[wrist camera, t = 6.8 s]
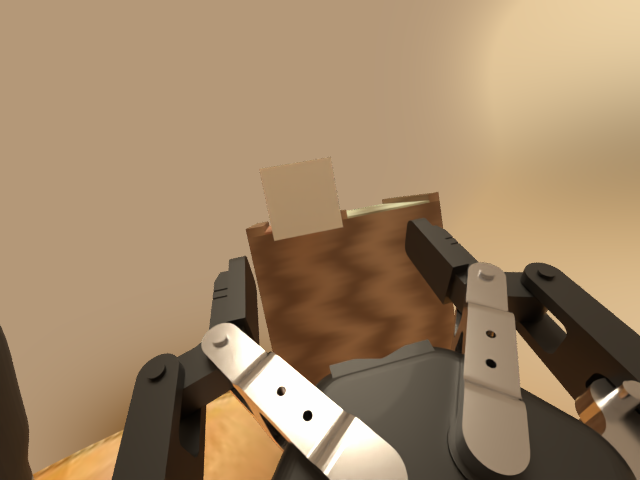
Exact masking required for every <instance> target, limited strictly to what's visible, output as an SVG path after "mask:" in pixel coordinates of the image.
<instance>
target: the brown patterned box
mask: <svg viewBox="0 0 640 480" xmlns="http://www.w3.org/2000/svg"><path fill="white" fill-rule="evenodd" d="M382 202H383V204H380V205H376V206H370V207H365V208H360V209H354V210H349V211H346V210H340V212H341V218H342V224H343V227H341V228H336V229H331V230H326V231H321V232H316V233H311V234H306V235H301V236H296V237H291V238H286V239H281V240H276V241H274V237H273V232H272V228H271V226H269V222H263V223H257V224H255V225H253V226H251V227H249V228H247V229H246V232H247V237H248V242H249V246H250V250H251V255H252V260H253V264H254V268H255V273H256V277H257V282H258V287H259V292H260V296H261V300H262V304H263V310H264V314H265V319H266V323H267V328H268V332H269V337H270V341H271V345H272V350H273V353H275V354H276V355H278V356H279V357H280V358H281V359H283V360H284V361H285V362H286V363H287V364H288V365H290V366H291V367H292V368H293V369H294V370H296V371H297V372H298V373H299V374H300V375H302V376H303V377H304V378H305V379H306V380H308V381H309V382H310V383H311V384H312V385H313V386H315V385H316V384H317V383H318V382H319V381H320V380H321V379H323V378H324V377H325V376H327V375H328V374H330V366H329V365H333V364H337V363H341V362H344V361H348V360H352V359H381V358H384V357H386V356H388V355H389V354H391V353H393V352H394V351H396V350H398V349H400V348H401V347H403V346H405V345H408V344H412V343H416V342H420V341H423V340H427V339H428V340H429V341H430V343H431V345H432V346H433V347H442V348H446V349H450V350H451V345H452V337H453V328H454V319H455V315H454V307H453V302H452V303H448V304H444V305H443V304H442V303H441V301H440V300H439V298H438V297H437V296H436V294H435V293H434V292H433V290H432V289H431V287H430V286H429V285H428V283H427V282H426V281H425V279H424V278H423V277H422V275H421V274H420V272H419V271H418V270H417V268H416V267H415V266H414V264H413V263H412V261H411V260H410V259H409V257H408V256H407V254H406V251H405V239H406V230H407V223H408V221H410V220H415V219H419V218H426V219H427V220H428V221H429V222H430V223H431V224H432V225H433V226H435V225H437V226H439V227H441V228H443V224H442V216H441V209H440V201H439V194H438V192H435V193H427V194H419V195H411V196H403V197H396V198H388V199H383V200H382Z"/></svg>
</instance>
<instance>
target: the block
mask: <svg viewBox="0 0 640 480" xmlns="http://www.w3.org/2000/svg"><path fill="white" fill-rule="evenodd" d="M259 170H260V175H261V180H262V185H263V189H264V194H265V199H266V204H267V209H268V213H269V218H270V223H271V228H272V232H273V237H274V241H276V240H281V239H286V238H291V237H296V236H301V235H306V234H311V233H316V232H321V231H326V230H331V229H336V228H341V227H343V224H342V218H341V212H340V207H339V201H338V196H337V190H336V184H335V178H334V173H333V167H332V162H331V157H327V158H321V159H315V160H309V161H303V162H297V163H292V164H285V165H280V166H274V167H268V168H262V169H259Z"/></svg>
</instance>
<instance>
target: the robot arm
mask: <svg viewBox="0 0 640 480" xmlns="http://www.w3.org/2000/svg"><path fill="white" fill-rule="evenodd" d="M405 251H406V254H407V256H408V257H409V259H410V260H411V261H412V263H413V264H414V266H415V267H416V268H417V270H418V271H419V272H420V274H421V275H422V277H423V278H424V279H425V281H426V282H427V283H428V285H429V286H430V287H431V289H432V290H433V292H434V293H435V294H436V296H437V297H438V298H439V300H440V301H441V303H442V304H443V305H444V304H448V303H452V302H453V304H454V305H455V306H456V310H455V319H454V328H453V337H452V345H451V350H450V349H446V348H442V347H433V346H432V345H431V343H430V341H429V340H428V339H427V340H423V341H420V342H416V343H412V344H408V345H405V346H403V347H401V348H400V349H398V350H396V351H394V352H393V353H391V354H389V355H388V356H386V357H384V358H381V359H352V360H348V361H344V362H341V363H337V364H333V365H329V366H330V374H328V375H327V376H325V377H324V378H323V379H321V380H320V381H319V382H318V383H317V384H316V385H315V386H313V385H312V384H311V383H310V382H309V381H308V380H306V379H305V378H304V377H303V376H302V375H300V374H299V373H298V372H297V371H296V370H294V369H293V368H292V367H291V366H290V365H288V364H287V363H286V362H285V361H284V360H283V359H281V358H280V357H279V356H278V355H276V354H275V353H273V352H269V353H267V352H266V351H264V350H263V349H262V348H261V347H260V346H259V327H258V308H257V290H256V284H255V280H254V277H253V274H252V271H251V268H250V265H249V262H248V260H247V257H246V256H243V257H238V258H234V259H230V260H229V271H226V272H221V273H220V274H219V275H218V277H217V279H216V280H215V283H214V293H213V301H212V309H211V319H210V327H209V331H208V332H207V333H206V334H205V335H204V337H203V339H202V342H201V343H200V344H199V345H198V346H196V347H195V348H193V349H192V350H190V351H188V352H186V353H184V354H182V355H180V356H179V357H176V356H175V355H173V354H161V355H158V356H156V357H154V358H153V359H151V360H150V361H148V362H147V363H146V364H145V365H144V366H143V367H142V369H141V370H140V372H139V374H138V376H137V379H136V382H135V386H134V390H133V395H132V399H131V403H130V407H129V411H128V415H127V419H126V423H125V428H124V431H123V435H122V440H121V444H120V448H119V452H118V456H117V460H116V464H115V468H114V472H113V476H112V480H203V476H204V450H205V424H206V405H207V404H208V403H210V402H211V401H213V400H215V399H216V398H218V397H219V396H221V395H223V394H224V393H226V392H227V391H230V392H231V393H232V394H233V395H234V396H235V398H236V399H237V400H238V401H239V402H240V403H241V404H242V405H243V406H244V407H245V408H246V410H247V411H248V412H249V413H250V414H251V415H252V416H253V417H254V418H255V420H256V421H257V422H258V423H259V425H260V426H261V427H262V429H263V430H264V431H265V432H266V433H267V435H268V436H269V437H270V438H271V439H272V440H273V441H274V442H275V444H276V445H277V446H278V447H279V448H280V449H281V450H282V451H283V454H282V456H281V459H280V461H279V463H278V466H277V468H276V470H275V472H274V475H273V477H272V479H271V480H640V336H639V335H638V334H637V333H636V332H635V331H633V330H632V329H631V328H630V327H628V326H627V325H626V324H625V323H624V322H622V321H621V320H620V319H619V318H617V317H616V316H615V315H614V314H613V313H611V312H610V311H609V310H608V309H607V308H605V307H604V306H603V305H602V304H600V303H599V302H598V301H597V300H596V299H594V298H593V297H592V296H591V295H589V294H588V293H587V292H586V291H584V290H583V289H582V288H581V287H580V286H578V285H577V284H576V283H575V282H574V281H572V280H571V279H570V278H569V277H567V276H566V275H565V274H564V273H563V272H561V271H560V270H559V269H557V268H555V267H553V266H551V265H548V264H544V263H531V264H529V265H527V266H526V267H525V269H524V271H523V272H503V271H502V270H501V269H500V268H498V267H497V266H495V265H492V264H489V263H484V262H478V261H477V260H476V259H475V258H474V257H473V256H472V255H471V254H469V252H468V251H467V250H466V249H464V247H463V246H461V245H460V244H458V242H457V241H456V240H455V239H454V238H453V237H452V236H451V235H450V234H449V233H448V232H447V231H446V230H445V229H443V228H441V227H439V226H437V225H435V226H433V225H432V224H431V223H430V222H429V221H428V220H427V219H426V218H419V219H415V220H410V221H408V223H407V230H406V239H405ZM548 310H549V311H550V312H551V313H552V314H553V315H554V316H555V317H556V318H557V319H558V320H559V321H560V322H561V323H562V324H563V325H564V327H565V329H566V331H567V334H566V333H565V332H564V331H563V330H562V329H561V328H560V327H559V326H558V325H557V324H556V323H555V322H554V321H553V320H552V319H551V318H550V317H549V316H548V315H547V314H546V312H547V311H548ZM516 330H517V331H518V333H519V334H520V335H521V336H522V337H523V339H524V340H525V341H526V342H527V343H528V345H529V346H530V347H531V348H532V349H533V351H534V352H535V353H536V354H537V355H538V357H539V358H540V359H541V360H542V361H543V363H544V364H545V365H546V366H547V367H548V369H549V370H550V371H551V372H552V373H553V375H554V376H555V377H556V378H557V379H558V381H559V382H560V383H561V384H562V385H563V387H564V388H565V389H566V390H567V391H568V393H569V394H570V395H571V396H572V397H573V399H574V400H575V407H576V411H577V413H578V415H579V417H580V419H579V420H578V419H576V418H574V417H572V416H571V415H568V414H567V413H565V412H563V411H561V410H560V409H558V408H556V407H555V406H553V405H551V404H549V403H548V402H545V401H544V400H542V399H540V398H539V397H537V396H535V395H533V394H531V393H530V392H528V391H526V390H524V389H523V388H521V387H520V379H519V366H518V353H517V341H516ZM28 443H29V426H28V420H27V416H26V413H25V409H24V405H23V401H22V397H21V394H20V390H19V386H18V382H17V378H16V374H15V370H14V366H13V362H12V358H11V354H10V350H9V347H8V344H7V340H6V338H5V335H4V333H3V330H2V328H1V326H0V480H34V477H33V475H32V471H31V468H30V466H29V462H28Z"/></svg>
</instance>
